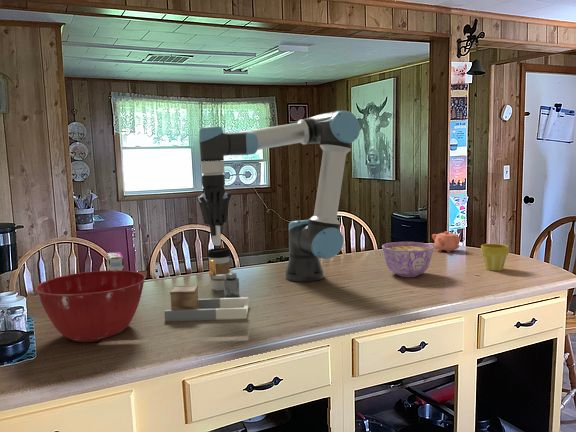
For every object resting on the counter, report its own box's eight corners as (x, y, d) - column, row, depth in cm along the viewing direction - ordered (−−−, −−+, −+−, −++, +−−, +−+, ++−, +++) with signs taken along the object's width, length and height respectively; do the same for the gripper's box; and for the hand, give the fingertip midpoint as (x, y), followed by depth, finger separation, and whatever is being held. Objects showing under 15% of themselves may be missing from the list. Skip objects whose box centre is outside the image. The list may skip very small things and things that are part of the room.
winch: (246, 298, 174) (245, 275, 173) (244, 306, 165) (243, 282, 164) (220, 299, 174) (219, 276, 173) (217, 307, 165) (216, 283, 164)
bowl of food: (426, 283, 188) (426, 252, 186) (374, 277, 198) (374, 248, 196) (439, 271, 205) (439, 243, 204) (391, 267, 215) (391, 240, 214)
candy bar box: (126, 304, 170) (123, 256, 168) (111, 306, 168) (107, 258, 166) (123, 296, 181) (120, 251, 179) (108, 298, 179) (105, 252, 177)
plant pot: (495, 265, 214) (495, 242, 213) (513, 270, 204) (514, 246, 203) (475, 267, 210) (475, 244, 209) (493, 273, 201) (493, 248, 199)
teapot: (438, 254, 240) (438, 233, 239) (430, 249, 252) (430, 230, 251) (462, 253, 241) (463, 233, 240) (453, 248, 253) (454, 229, 251)
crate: (199, 310, 159) (198, 285, 158) (195, 317, 152) (194, 291, 151) (176, 311, 159) (174, 285, 158) (171, 318, 151) (170, 292, 150)
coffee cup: (227, 291, 183) (226, 251, 181) (205, 291, 185) (203, 250, 183) (234, 285, 191) (233, 246, 189) (213, 285, 193) (211, 246, 191)
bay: (248, 309, 162) (248, 297, 161) (246, 321, 150) (246, 308, 149) (173, 311, 161) (172, 299, 161) (165, 324, 149) (164, 311, 149)
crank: (236, 277, 170) (236, 258, 169) (236, 279, 167) (235, 260, 166) (210, 278, 170) (209, 259, 169) (209, 280, 166) (208, 261, 165)
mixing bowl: (69, 318, 157) (65, 269, 155) (160, 316, 156) (157, 267, 154) (19, 354, 129) (13, 295, 127) (129, 352, 128) (125, 293, 126)
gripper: (221, 173, 173) (224, 240, 176) (189, 175, 164) (194, 246, 167) (235, 173, 168) (239, 243, 171) (203, 175, 159) (208, 249, 162)
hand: (216, 244), depth 169 cm, fingers closed
